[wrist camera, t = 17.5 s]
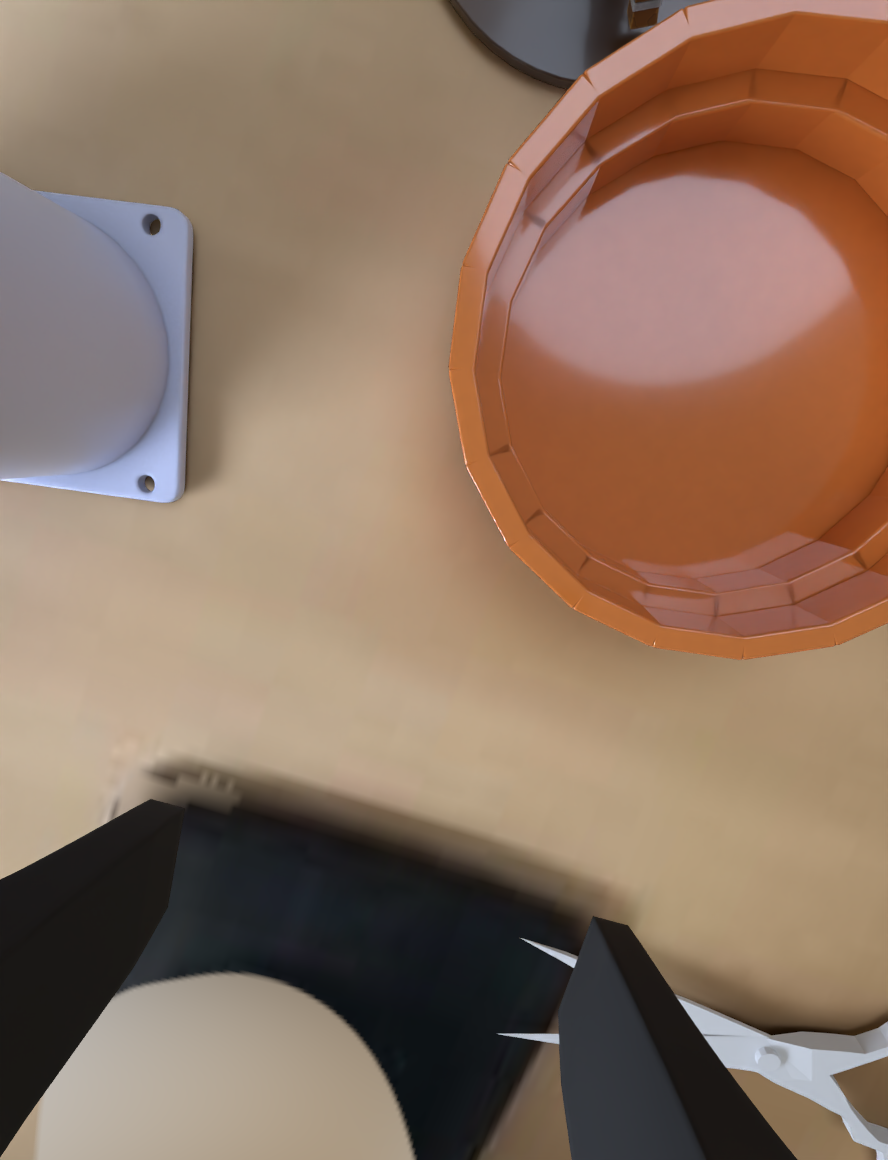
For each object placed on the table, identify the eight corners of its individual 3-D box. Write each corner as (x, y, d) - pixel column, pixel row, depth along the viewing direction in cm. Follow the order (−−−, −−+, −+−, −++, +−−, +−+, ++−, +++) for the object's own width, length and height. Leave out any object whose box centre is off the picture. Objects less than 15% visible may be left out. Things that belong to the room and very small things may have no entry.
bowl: (430, 579, 19) (417, 614, 15) (496, 68, 16) (500, -57, 12) (878, 642, 18) (987, 696, 14) (1035, 129, 15) (1226, 21, 11)
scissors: (1012, 1241, 22) (468, 1112, 22) (994, 1214, 22) (469, 1090, 23) (1156, 1007, 19) (545, 863, 19) (1130, 986, 20) (542, 847, 20)
